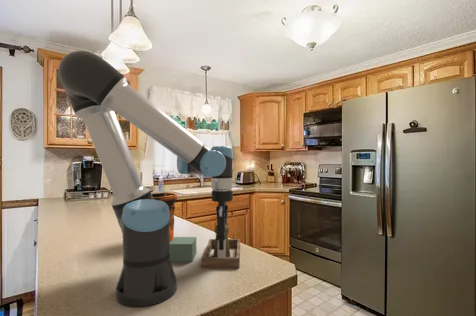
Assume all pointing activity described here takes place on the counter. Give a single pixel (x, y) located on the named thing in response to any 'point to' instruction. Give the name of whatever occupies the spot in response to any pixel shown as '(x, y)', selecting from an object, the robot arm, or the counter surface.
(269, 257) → the counter surface
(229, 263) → the wooden frame
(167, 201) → the vessel
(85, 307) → the counter surface
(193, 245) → the stand
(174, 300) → the counter surface
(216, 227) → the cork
